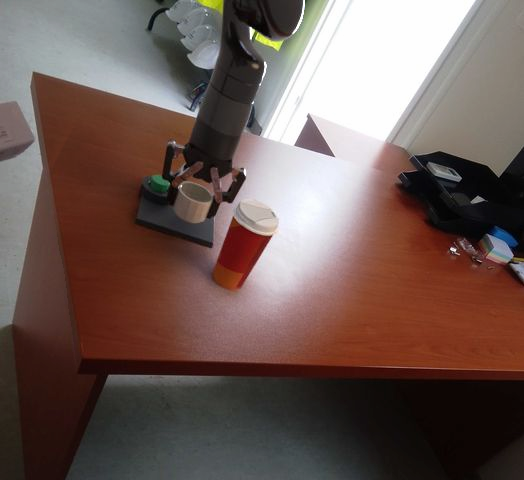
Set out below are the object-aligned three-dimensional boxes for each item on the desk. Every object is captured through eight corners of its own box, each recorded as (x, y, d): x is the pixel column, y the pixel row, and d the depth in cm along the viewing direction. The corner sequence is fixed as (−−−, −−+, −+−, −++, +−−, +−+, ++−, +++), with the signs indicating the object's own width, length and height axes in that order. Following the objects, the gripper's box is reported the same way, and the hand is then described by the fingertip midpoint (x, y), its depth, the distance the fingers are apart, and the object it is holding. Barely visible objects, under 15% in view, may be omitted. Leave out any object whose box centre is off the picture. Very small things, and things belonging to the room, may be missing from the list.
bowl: (170, 217, 79) (177, 195, 76) (172, 198, 84) (179, 177, 81) (204, 229, 82) (213, 207, 79) (205, 210, 86) (213, 189, 83)
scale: (131, 222, 79) (135, 208, 77) (142, 180, 89) (145, 166, 87) (211, 248, 84) (217, 235, 82) (213, 205, 94) (218, 192, 92)
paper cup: (236, 263, 84) (267, 199, 74) (255, 293, 80) (290, 229, 71) (199, 263, 79) (227, 194, 70) (216, 295, 76) (249, 227, 66)
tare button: (148, 189, 83) (151, 181, 82) (150, 180, 85) (153, 172, 84) (166, 195, 84) (168, 187, 83) (167, 186, 86) (170, 178, 85)
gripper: (174, 110, 66) (147, 207, 77) (265, 148, 71) (227, 234, 82) (178, 92, 71) (152, 185, 82) (262, 128, 76) (227, 212, 87)
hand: (190, 209), depth 82 cm, fingers closed on bowl, 6 cm apart
